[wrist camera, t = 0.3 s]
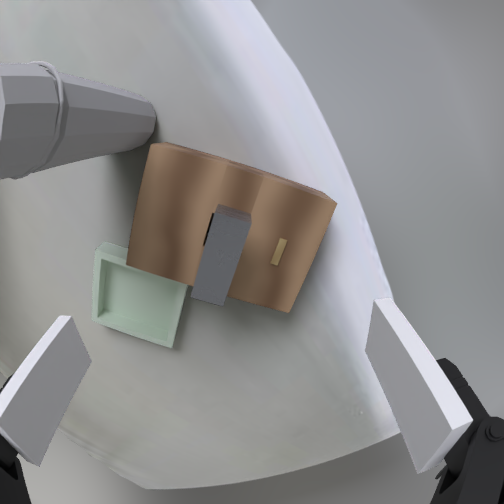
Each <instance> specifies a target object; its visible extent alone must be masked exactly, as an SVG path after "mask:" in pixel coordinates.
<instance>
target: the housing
mask: <svg viewBox="0 0 504 504" xmlns="http://www.w3.org/2000/svg"><path fill="white" fill-rule="evenodd" d="M218 204H221V205H225V206H228V207H231V208H234V209H237V210H241V211H244V212H247V213H250V214H251V221H252V224H251V227H250V230H249V233H248V236H247V239H246V241H245V244H244V247H243V250H242V253H241V256H240V259H239V262H238V264H237V267H236V270H235V273H234V276H233V279H232V282H231V285H230V288H229V290H228V293H227V296H228V297H231V298H235V299H238V300H242V301H246V302H249V303H253V304H257V305H260V306H264V307H268V308H272V309H275V310H279V311H283V312H287V313H289V312H290V310H291V308H292V306H293V303H294V301H295V299H296V297H297V295H298V293H299V291H300V288H301V286H302V284H303V282H304V280H305V277H306V275H307V273H308V271H309V269H310V266H311V264H312V262H313V260H314V257H315V255H316V253H317V250H318V248H319V246H320V243H321V241H322V239H323V236H324V234H325V232H326V229H327V227H328V225H329V222H330V220H331V217H332V215H333V213H334V210H335V208H336V205H337V203H336V202H335V201H333V200H332V199H331V198H330V197H328V196H327V195H326V194H325V193H323V192H321V191H318V190H316V189H313V188H310V187H308V186H305V185H302V184H299V183H297V182H294V181H291V180H288V179H285V178H283V177H280V176H277V175H274V174H271V173H268V172H265V171H262V170H259V169H256V168H253V167H250V166H247V165H244V164H241V163H237V162H234V161H231V160H228V159H224V158H221V157H218V156H214V155H211V154H208V153H204V152H201V151H197V150H194V149H190V148H186V147H183V146H179V145H175V144H171V143H168V142H164V143H155V144H151V146H150V150H149V153H148V157H147V161H146V165H145V169H144V173H143V177H142V181H141V186H140V190H139V195H138V199H137V204H136V209H135V214H134V219H133V224H132V230H131V235H130V241H129V247H128V253H127V260H126V265H127V266H130V267H133V268H136V269H139V270H142V271H146V272H149V273H152V274H155V275H158V276H161V277H164V278H168V279H171V280H174V281H177V282H180V283H184V284H187V285H190V286H194V282H195V279H196V275H197V271H198V268H199V264H200V261H201V257H202V254H203V250H204V247H205V243H206V240H207V237H208V233H209V230H210V227H211V223H212V220H213V217H214V213H215V211H216V208H217V206H218Z"/></svg>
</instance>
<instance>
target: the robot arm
mask: <svg viewBox="0 0 504 504" xmlns="http://www.w3.org/2000/svg"><path fill="white" fill-rule="evenodd" d="M365 352H366V354H367V356H368V358H369V360H370V362H371V365H372V367H373V369H374V371H375V373H376V375H377V378H378V380H379V382H380V384H381V386H382V389H383V391H384V393H385V395H386V398H387V400H388V402H389V405H390V407H391V409H392V412H393V414H394V416H395V419H396V421H397V423H398V426H399V428H400V431H401V433H402V436H403V438H404V440H405V443H406V445H407V448H408V450H409V453H410V455H411V458H412V461H413V463H414V466H415V469H416V471H417V474H419V473H421V472H424V471H426V470H429V469H431V468H433V467H436V466H437V465H438V464H439V463H440V462H441V461H442V460H443V459H445V461H446V463H447V465H446V466H445V467H444V468H443V469H442V470H441V471H440V472H439V473H438V475H437V476H436V478H435V479H438V478H439V477H440V476H441V475H442V476H441V479H440V481H439V484H438V486H437V489H436V491H435V493H434V496H433V498H432V501H431V503H430V504H504V420H503V419H501V418H499V417H490V416H489V414H488V413H487V412H486V410H485V408H484V407H483V406H482V404H481V402H480V401H479V399H478V397H477V396H476V394H475V393H474V392H473V390H472V388H471V387H470V386H468V383H467V381H466V380H465V378H463V377H462V376H463V375H462V374H461V372H460V371H459V370H458V368H457V367H456V366H455V365H454V364H453V363H451V362H450V361H449V360H447V359H446V358H443V359H439V360H435V359H434V357H433V356H432V354H431V353H430V351H429V350H428V349H427V347H426V346H425V345H424V343H423V342H422V340H421V339H420V337H419V336H418V334H417V333H416V332H415V330H414V329H413V327H412V326H411V325H410V323H409V322H408V321H407V319H406V318H405V317H404V315H403V314H402V313H401V311H400V310H399V309H398V307H397V306H396V304H395V303H394V302H393V301H392V299H391V298H384V299H377V300H374V303H373V309H372V315H371V322H370V327H369V333H368V338H367V344H366V349H365ZM91 362H92V360H91V358H90V356H89V354H88V352H87V350H86V348H85V346H84V343H83V341H82V339H81V337H80V335H79V332H78V330H77V328H76V325H75V323H74V320H73V318H72V316H59V317H58V318H57V320H56V321H55V322H54V323H53V324H52V326H51V327H50V328H49V329H48V331H47V332H46V333H45V334H44V335H43V337H42V338H41V339H40V340H39V342H38V343H37V344H36V346H35V347H34V348H33V349H32V351H31V352H30V353H29V355H28V356H27V357H26V359H25V360H24V361H23V363H22V364H21V365H20V367H19V368H18V369H17V371H16V372H15V373H14V374H13V375H11V376H10V377H9V378H8V379H7V381H6V382H5V384H4V385H3V388H1V389H0V504H31V501H30V498H29V494H28V491H27V487H26V484H25V480H24V476H23V472H22V467H21V463H20V461H19V459H18V458H17V457H16V456H17V454H18V453H19V454H20V455H21V456H22V457H23V458H24V459H25V460H26V461H28V462H30V463H32V464H35V465H37V466H39V467H40V464H41V462H42V460H43V457H44V455H45V453H46V451H47V448H48V446H49V444H50V442H51V440H52V437H53V435H54V433H55V431H56V429H57V427H58V425H59V423H60V421H61V419H62V417H63V415H64V413H65V411H66V409H67V407H68V405H69V403H70V401H71V399H72V397H73V395H74V393H75V391H76V390H77V388H78V386H79V384H80V382H81V380H82V378H83V377H84V375H85V373H86V371H87V369H88V368H89V366H90V364H91Z"/></svg>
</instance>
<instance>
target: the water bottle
mask: <svg viewBox="0 0 504 504" xmlns="http://www.w3.org/2000/svg"><path fill="white" fill-rule="evenodd" d="M40 66H43V67H45V68H48V69H49V70H45V69H43V68H42V67H40ZM155 121H156V115H155V112H154V109H153V106H152V104H151V103H150V102H149V101H148V100H146V99H145V98H144V97H143V96H141V95H138V94H135V93H132V92H129V91H126V90H123V89H119V88H116V87H113V86H109V85H106V84H103V83H99V82H95V81H92V80H88V79H84V78H80V77H76V76H72V75H68V74H64V73H60V72H58V71H57V69H56V67H54V66H53V65H51V64H49V63H47V62H46V61H32V62H29V63H26V64H21V63H0V179H4V178H12V179H19V178H23V177H25V176H28V175H29V174H30V173H34V172H38V171H41V170H45V169H49V168H52V167H56V166H60V165H64V164H68V163H72V162H76V161H80V160H85V159H89V158H94V157H98V156H103V155H108V154H113V153H119V152H124V151H130V150H133V149H135V148H137V147H139V146H141V145H144V144H145V142H146V141H147V140H148V139H149V137H150V136H151V135H152V133H153V132H154V126H155Z"/></svg>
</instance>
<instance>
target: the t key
mask: <svg viewBox="0 0 504 504" xmlns="http://www.w3.org/2000/svg"><path fill="white" fill-rule="evenodd" d="M251 224H252V221H251V214H250V213H247V212H244V211H241V210H237V209H234V208H231V207H228V206H225V205H221V204H218V206H217V208H216V211H215V213H214V217H213V220H212V223H211V227H210V230H209V233H208V237H207V240H206V243H205V247H204V250H203V254H202V257H201V261H200V264H199V268H198V271H197V275H196V279H195V282H194V286H193V289H192V293H191V297H192V298H195V299H198V300H202V301H205V302H209V303H212V304H216V305H219V306H223V305H224V302H225V299H226V296H227V293H228V290H229V288H230V285H231V282H232V279H233V276H234V273H235V270H236V267H237V264H238V262H239V259H240V256H241V253H242V250H243V247H244V244H245V241H246V239H247V236H248V233H249V230H250V227H251Z"/></svg>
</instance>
